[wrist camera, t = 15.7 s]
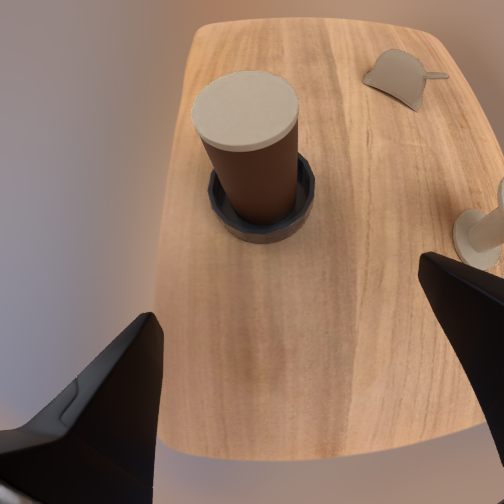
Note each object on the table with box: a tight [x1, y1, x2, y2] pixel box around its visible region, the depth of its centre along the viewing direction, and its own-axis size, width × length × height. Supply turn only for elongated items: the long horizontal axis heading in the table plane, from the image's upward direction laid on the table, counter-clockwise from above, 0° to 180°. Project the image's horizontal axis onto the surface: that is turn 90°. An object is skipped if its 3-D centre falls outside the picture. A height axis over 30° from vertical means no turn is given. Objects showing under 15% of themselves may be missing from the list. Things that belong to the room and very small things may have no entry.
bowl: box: [208, 153, 315, 244], centre depth 24 cm, size 8×8×2 cm
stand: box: [453, 177, 504, 271], centre depth 18 cm, size 6×6×8 cm
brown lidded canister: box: [191, 70, 299, 225], centre depth 19 cm, size 6×6×11 cm
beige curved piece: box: [363, 49, 449, 112], centre depth 24 cm, size 4×8×5 cm, turn 52°
